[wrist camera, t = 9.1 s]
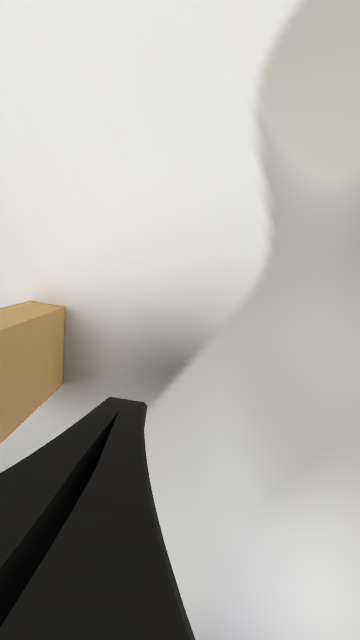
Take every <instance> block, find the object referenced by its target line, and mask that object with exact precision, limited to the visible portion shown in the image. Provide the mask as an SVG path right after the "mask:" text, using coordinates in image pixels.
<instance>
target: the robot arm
mask: <svg viewBox="0 0 360 640" xmlns="http://www.w3.org/2000/svg"><path fill="white" fill-rule="evenodd" d="M146 410H147V405H146V404H145V403H144V402H138V401H132V400H126V399H120V398H113V397H109V398H108V399H106V400H105V401H104V402H102V403H101V404H100V405H98V406H97V407H96V408H95V409H93V410H92V411H91V412H90V413H88V414H87V415H86V416H84V417H83V418H82V419H80V420H79V421H78V422H76V423H75V424H74V425H72V426H71V427H70V428H68V429H67V430H66V431H64V432H63V433H61V434H60V435H59V436H57V437H56V438H54V439H53V440H51V441H50V442H49V443H47V444H46V445H44V446H43V447H41V448H40V449H38V450H37V451H35V452H34V453H32V454H31V455H29V456H28V457H26V458H25V459H23V460H21V461H20V462H18V463H17V464H15V465H13V466H12V467H10V468H8V469H7V470H5V471H3V472H2V473H0V640H195V637H194V635H193V632H192V629H191V626H190V623H189V620H188V617H187V615H186V611H185V609H184V606H183V602H182V599H181V596H180V593H179V589H178V587H177V583H176V580H175V576H174V573H173V570H172V567H171V564H170V560H169V557H168V554H167V550H166V547H165V544H164V540H163V536H162V532H161V528H160V525H159V521H158V517H157V512H156V508H155V504H154V499H153V495H152V490H151V484H150V479H149V473H148V467H147V459H146V452H145V440H144V426H145V418H146Z"/></svg>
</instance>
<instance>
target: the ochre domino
mask: <svg viewBox="0 0 360 640" xmlns="http://www.w3.org/2000/svg"><path fill="white" fill-rule="evenodd" d="M64 324H65V307H63V306H57V305H50V304H44V303H38V302H32V301H28V302H24V303H20V304H16V305H12V306H8V307H4V308H0V443H1V442H2V441H3V440H5V439H6V438H7V437H8V436H9V435H10V434H11V433H12V432H13V431H14V430H15V429H16V428H17V427H18V426H19V425H20V424H21V423H22V422H23V421H24V420H25V419H27V418H28V417H29V416H30V415H31V414H32V413H33V412H34V411H35V410H36V409H37V408H38V407H39V406H40V405H41V404H42V403H43V402H44V401H45V400H46V399H48V398H49V397H50V396H51V395H52V394H53V393H54V392H55V391H56V390H57V389H58V388H59V387H60V386H61V385H62V384H63V355H64Z"/></svg>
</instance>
